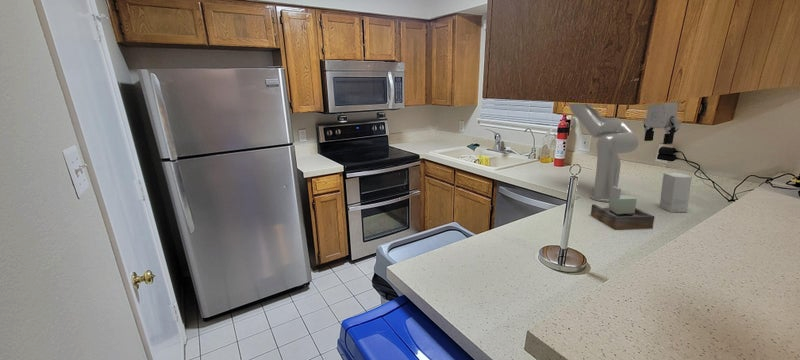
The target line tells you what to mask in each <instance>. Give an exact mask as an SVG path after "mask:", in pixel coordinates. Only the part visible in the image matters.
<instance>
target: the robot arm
mask: <svg viewBox="0 0 800 360" xmlns="http://www.w3.org/2000/svg"><path fill="white" fill-rule="evenodd" d="M568 104H569V103H568ZM592 106H595V105H588V104H569V109H570V111H571V113H572V115H574V117H575V118H576V119H577V120H578V121H579V122H580V123H581V124H582V126H583V127H584V129H586V130H587V132H588V134H589V135H591V137H593V138H595V139H597V141H596V152H597V155H596V156H597V160H596V169H595V170H596V171H595V179H594V186H593V187H591V190H592V191H593V192H592V193H590V194H589V198H590V199H592V200H594V201H597V202H603V203H604V202H605V203H609V201H610V196H611V192H612V186H615V187H617V188H619V182H620V173H621V159H620V157H619V154H627V153H632V152H634V151H636V150H637V148H638V147H639V139H638V136H637V135H636V134H635V133H634V131H632V129H631V128H630V127H629V126H628V125H627V124H626V123H625V122H624V121H623V120H622V119H620V118H618V117H603V116H602V115H601V113H599V112H598V111H597V110H596V109H595V108H593V107H592ZM677 118H678V101H677V102H676V103H665V104H652V105H650V104H649V106H648V109H647V113H646V117H645V119H643V120H642V123H643V128H644V137H643V138H644V140H643V141H644V142H652V141H654V134H655V129H664V131H665V133H664V136H663V140H662V141H663V142H662V144H663V145H672V144H673V143H674V136H675V134H676V133H677V131H678V130H679V128H680V127H681V125H682V122H681V121H680V120H679V119H677Z"/></svg>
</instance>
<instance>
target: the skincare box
mask: <svg viewBox="0 0 800 360" xmlns="http://www.w3.org/2000/svg"><path fill="white" fill-rule="evenodd" d="M661 183H662V185H661V191H660V198H659V199H660V200H659V207H660V208H662V209H664V210H666V211H667V212H668V213H669V212H670V213H687V212H688V206H689V201H690V200H689V199H690V193H691V192H690V191H691V187H692V186H691V184H692V176H690V175H688V174H684V173H681V172H664V173H663V175H662V182H661Z"/></svg>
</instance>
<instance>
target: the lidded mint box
mask: <svg viewBox="0 0 800 360" xmlns="http://www.w3.org/2000/svg"><path fill="white" fill-rule="evenodd" d="M621 192H622V189H621V188H619V187H618V188H617V187H615V186H612V192H611V196H610V201H609V202H608V208H609V209H608V210H609V212H611V213H615V215H616V216H618V217H619V216H621V215H622V214H627V215H629V216H633V215H634V213H635V208H637V207H636V205H637V198H636V197H634V196H631V195H629V194H621Z"/></svg>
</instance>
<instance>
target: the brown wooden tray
mask: <svg viewBox="0 0 800 360" xmlns="http://www.w3.org/2000/svg"><path fill="white" fill-rule="evenodd" d="M608 209H609V207H601V206H599V205H598V204H595V203H593V204H591V211H590V216H592V217H593V218H595V219H597V220H598V221H600V222H601V223H603V224H604V225H607V226H608V227H610V228H612V229H614V230H615V231H619V230H620V231H621V230H622V231H623V230H642V229H643V230H644V229H647V230H648V229H649V230H650V229H653V228H654V222H655V215H653V214H650V213H648V212H646V211H644V210H641V209H639V208H637V207H635V213H634V215H633V216H629V215H627V214H622V215H621V216H619V217H618V216H616V215H615V213H611V212H609V210H608Z"/></svg>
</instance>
